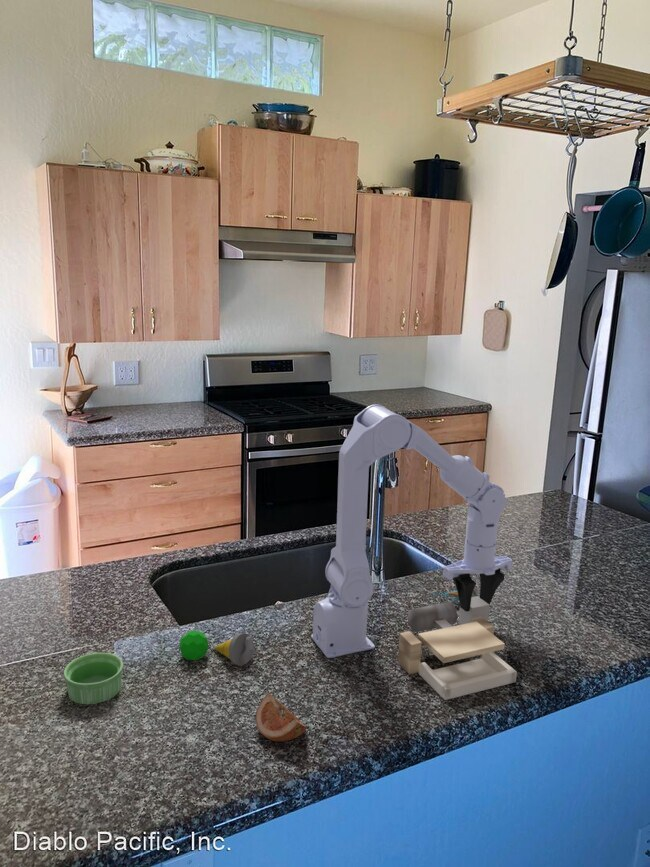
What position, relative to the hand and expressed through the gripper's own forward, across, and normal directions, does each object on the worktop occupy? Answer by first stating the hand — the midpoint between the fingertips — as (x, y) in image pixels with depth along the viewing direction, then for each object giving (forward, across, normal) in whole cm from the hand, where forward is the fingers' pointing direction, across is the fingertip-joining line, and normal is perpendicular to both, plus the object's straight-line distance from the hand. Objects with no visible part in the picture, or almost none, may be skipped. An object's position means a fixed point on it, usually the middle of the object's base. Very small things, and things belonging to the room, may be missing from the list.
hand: (474, 607), depth 133 cm
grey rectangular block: (+4, 0, 0) cm, 4 cm away
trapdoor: (-2, -12, -8) cm, 15 cm away
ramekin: (+5, -70, +4) cm, 70 cm away
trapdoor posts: (+4, -12, -8) cm, 15 cm away
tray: (+4, -12, -15) cm, 20 cm away
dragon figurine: (+4, 0, +13) cm, 14 cm away
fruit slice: (+4, -46, -17) cm, 49 cm away
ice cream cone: (+1, -44, +1) cm, 44 cm away
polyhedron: (+4, -53, +8) cm, 54 cm away
